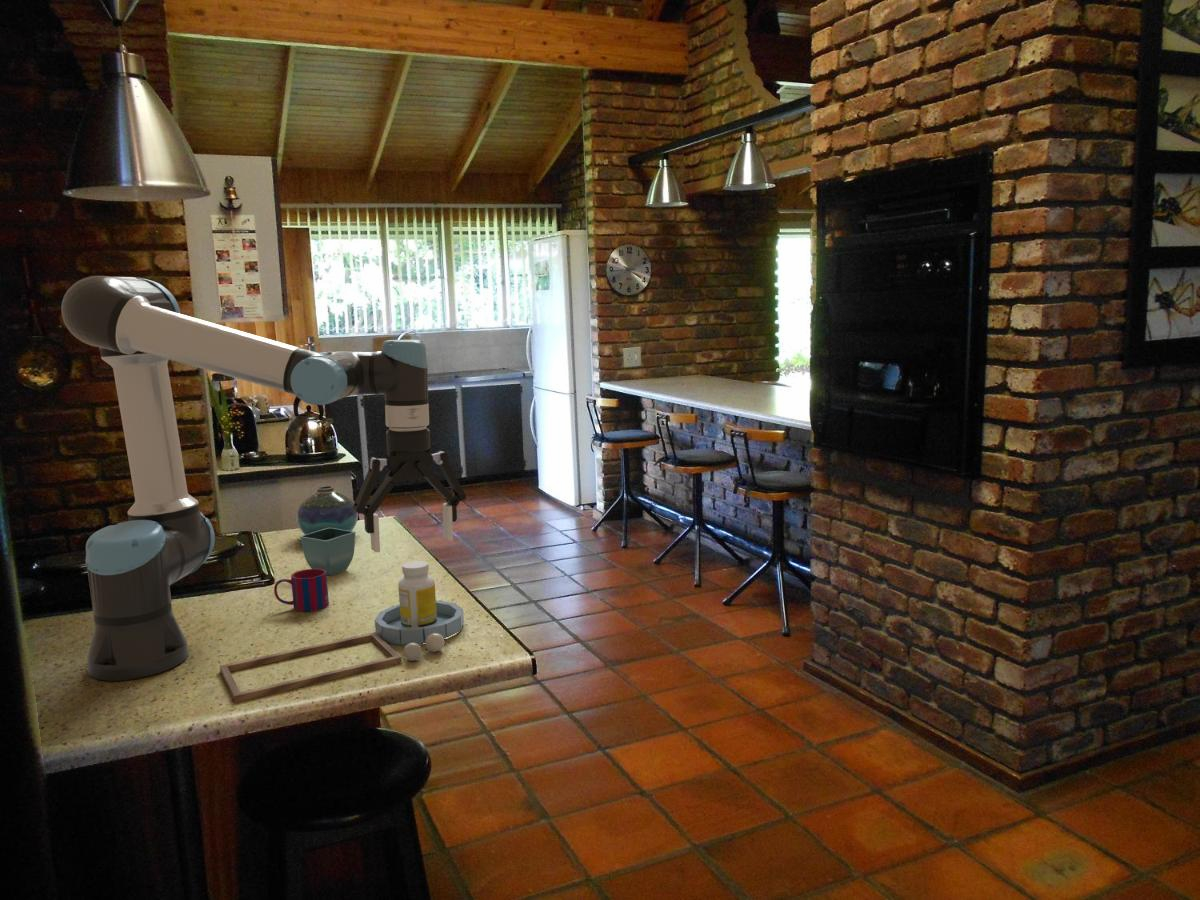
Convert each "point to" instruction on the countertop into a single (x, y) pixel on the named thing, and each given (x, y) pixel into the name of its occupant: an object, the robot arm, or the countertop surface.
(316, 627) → the countertop surface
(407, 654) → the glossy pale sphere
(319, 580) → the mug
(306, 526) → the vase
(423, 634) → the bowl
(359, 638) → the open rectangular frame
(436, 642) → the pebble
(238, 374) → the robot arm
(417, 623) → the pill bottle
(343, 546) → the flower pot
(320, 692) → the countertop surface
